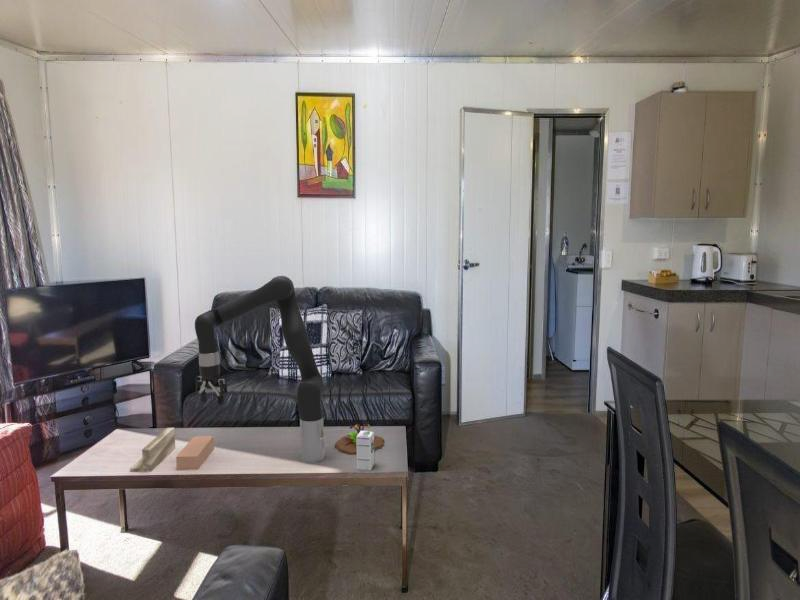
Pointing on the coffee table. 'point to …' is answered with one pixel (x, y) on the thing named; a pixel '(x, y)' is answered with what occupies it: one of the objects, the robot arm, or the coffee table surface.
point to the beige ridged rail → (156, 451)
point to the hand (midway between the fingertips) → (212, 403)
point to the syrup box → (365, 450)
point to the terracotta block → (195, 453)
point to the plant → (349, 442)
